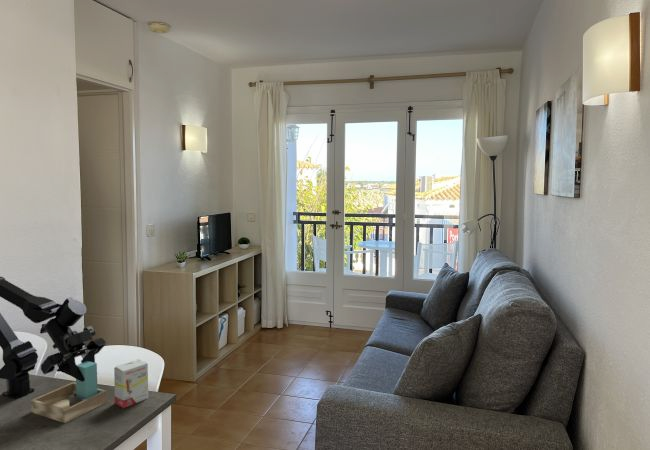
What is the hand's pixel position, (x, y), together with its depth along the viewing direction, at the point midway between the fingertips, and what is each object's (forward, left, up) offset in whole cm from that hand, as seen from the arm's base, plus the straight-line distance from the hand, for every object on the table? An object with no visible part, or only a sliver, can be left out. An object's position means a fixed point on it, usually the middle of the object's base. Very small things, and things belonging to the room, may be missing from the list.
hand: (89, 378), depth 145 cm
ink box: (+8, +8, -9) cm, 15 cm away
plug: (-1, 0, -7) cm, 7 cm away
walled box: (-5, -3, -9) cm, 11 cm away
